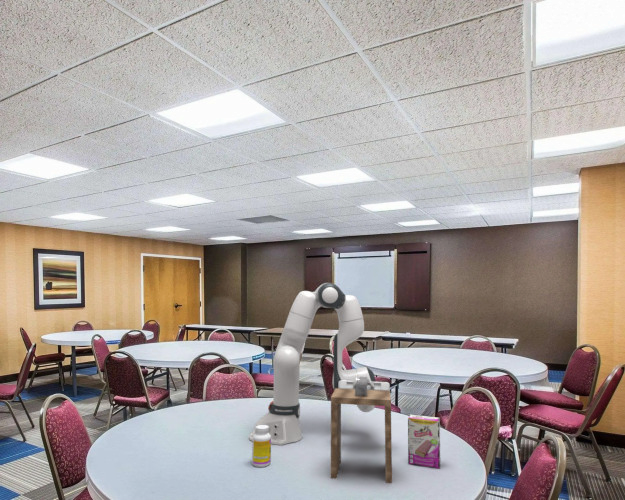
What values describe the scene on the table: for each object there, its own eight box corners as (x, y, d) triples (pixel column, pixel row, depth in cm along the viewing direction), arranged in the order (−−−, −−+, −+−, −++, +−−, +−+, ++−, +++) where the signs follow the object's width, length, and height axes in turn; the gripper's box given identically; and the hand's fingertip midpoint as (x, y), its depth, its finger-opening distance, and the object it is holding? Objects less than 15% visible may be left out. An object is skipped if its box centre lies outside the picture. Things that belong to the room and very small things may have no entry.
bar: (355, 396, 140) (355, 384, 141) (358, 384, 160) (358, 374, 160) (366, 396, 139) (366, 384, 140) (368, 384, 159) (368, 374, 160)
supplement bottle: (272, 466, 144) (272, 428, 146) (253, 468, 143) (254, 430, 144) (268, 459, 151) (269, 423, 152) (250, 461, 149) (251, 424, 150)
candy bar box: (408, 464, 147) (407, 417, 149) (409, 459, 152) (408, 413, 154) (440, 469, 144) (439, 420, 145) (441, 464, 148) (439, 417, 150)
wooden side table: (330, 478, 135) (331, 397, 139) (335, 461, 149) (335, 388, 152) (392, 483, 132) (390, 400, 135) (391, 466, 146) (390, 390, 149)
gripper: (339, 384, 171) (336, 372, 160) (389, 386, 168) (389, 374, 157) (339, 399, 167) (335, 388, 156) (389, 402, 164) (390, 390, 153)
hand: (363, 381), depth 156 cm, fingers closed on bar, 3 cm apart
